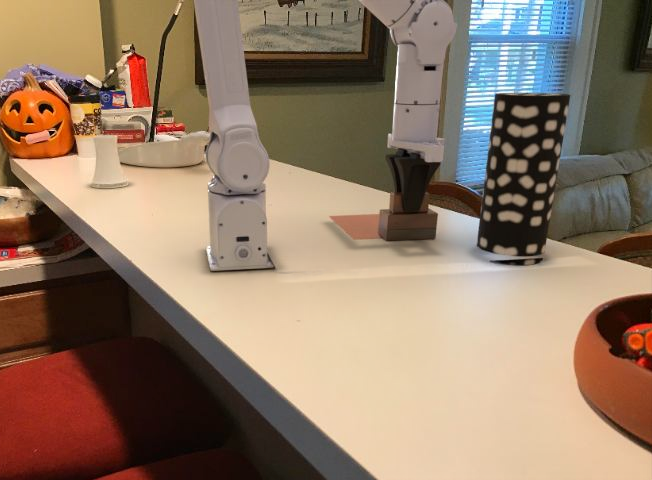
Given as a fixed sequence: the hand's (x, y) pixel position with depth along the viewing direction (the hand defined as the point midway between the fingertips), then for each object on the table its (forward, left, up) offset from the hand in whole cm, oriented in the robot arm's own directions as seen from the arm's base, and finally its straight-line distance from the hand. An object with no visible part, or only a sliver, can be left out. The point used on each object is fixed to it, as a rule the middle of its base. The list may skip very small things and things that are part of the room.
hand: (408, 208), depth 82 cm
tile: (+7, +2, -5) cm, 9 cm away
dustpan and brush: (+78, +29, -5) cm, 84 cm away
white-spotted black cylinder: (-7, -12, -5) cm, 14 cm away
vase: (+54, +44, -5) cm, 70 cm away
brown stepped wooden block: (0, 0, -4) cm, 4 cm away
